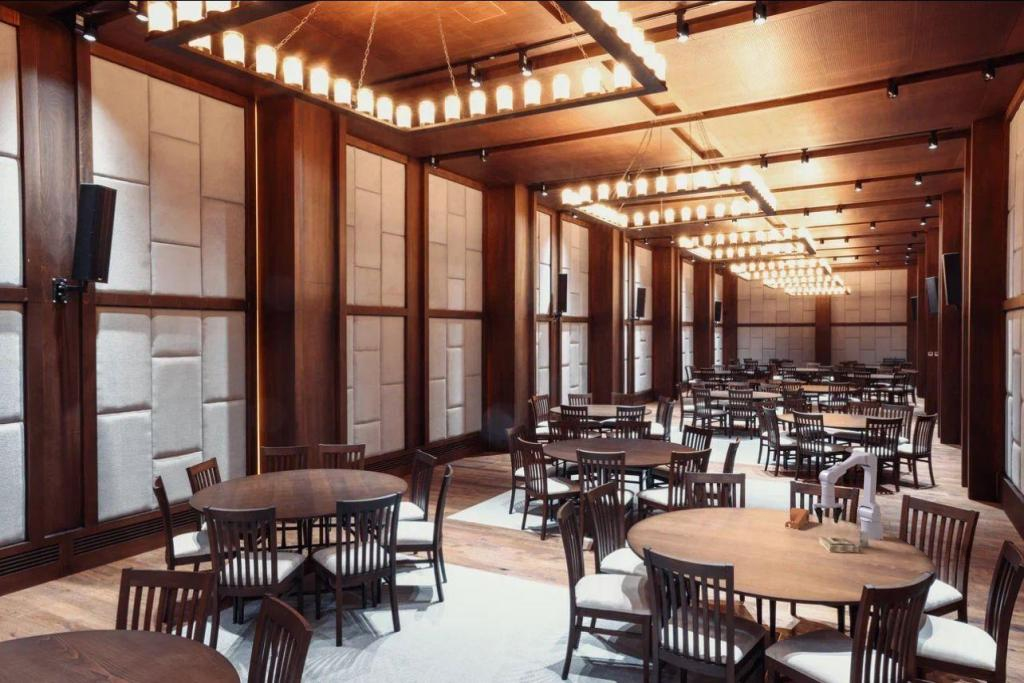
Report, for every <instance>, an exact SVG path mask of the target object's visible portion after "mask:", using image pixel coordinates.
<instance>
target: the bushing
mask: <svg viewBox="0 0 1024 683" xmlns="http://www.w3.org/2000/svg"><path fill="white" fill-rule="evenodd" d="M858 534H859V535H858V541H859V542H858V545H859V546H858V547H860V546H861V547H860V548H862V547H866V548H865V549H868V548H870V547H869V542H870V540H869V533H868V532H865V531H861V530H859V532H858ZM867 547H868V548H867Z"/></svg>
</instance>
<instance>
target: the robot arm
mask: <svg viewBox="0 0 1024 683" xmlns="http://www.w3.org/2000/svg"><path fill="white" fill-rule="evenodd" d="M856 465H859V466H860V467H862V469H864V475H863V476H864V478H863V480H864V481H863V497H862V499H863V500H862V501H860V502H859V503H858V508H857V511H856V512H857V515H858V517H859V520H860V531H865V532H868V533H869V539H878V541H884V526H883V522H882V521H881V517H882V512H881V506H880V505H879V504H878V503H877V502H876V493H877V490H876V489H877V488H876V487H877V474H878V473H877V472H878V457H877V456H876V455H875V454H874V453H873V452H867V451H865V452H864V451H860V450H855V451H854V452H852V453H851V454H850V456H849V457H848V458H847V459H846V460H844V461H843V462H835V463H834V465H832V466H831V467H829V468H827V469H826V470H825V469H824V470H822V471H821V472H819V476H818V479H819V481H820V485H821V502H819V503H812V508H813V509H814V512H815V514H816V517H817V520H818V523H819V524H823V516H824V515H823V514H824V510H823V509H832V510H833V522H834V523H835V524H838V523H839V519H840V516H841V514H842V513H843V510H844V503H838V502H837V503H836V502H835V483H837V482H838V479H839V478H840V477H841V476H843V475H844V474H846V473H847V470H848V469H850V468H852V467H854V466H856ZM857 535H858V536H859V533H858V534H857ZM880 539H882V540H880Z"/></svg>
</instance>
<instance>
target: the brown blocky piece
mask: <svg viewBox="0 0 1024 683" xmlns="http://www.w3.org/2000/svg"><path fill="white" fill-rule="evenodd" d="M810 516H811V515H810V510H809V509H805V508H800V507H799V508H798V507H791V509H790V512H789V520H788V521H787V522H785V523H784V526H785V528H786V527H790V528H793V529H792V530H795V529H799V528H800V529H801V527H802V526H803V527H804V526H806V525H807V524H808V522H809V523H810ZM792 521H793V522H792ZM806 523H807V524H806ZM805 524H806V525H805ZM789 525H790V526H789ZM803 527H802V528H803ZM790 528H789V529H790ZM800 529H799V530H800Z"/></svg>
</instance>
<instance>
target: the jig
mask: <svg viewBox="0 0 1024 683" xmlns="http://www.w3.org/2000/svg"><path fill="white" fill-rule="evenodd" d="M818 541H819V542H818V544H819V543H820V544H819V545H821V546H822V547H823V546H824V547H825V548H826V551H828V552H829V553H842V552H854V553H853V554H859V546H858V544H856V543H854V542H853V541H852V540H850V539H849V538H848V537H829V536H828V537H823V536H822V537H820V536H819V537H818ZM824 547H823V548H824ZM825 548H824V549H825Z"/></svg>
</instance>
